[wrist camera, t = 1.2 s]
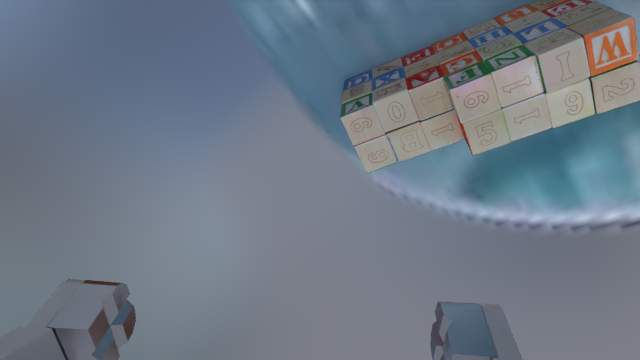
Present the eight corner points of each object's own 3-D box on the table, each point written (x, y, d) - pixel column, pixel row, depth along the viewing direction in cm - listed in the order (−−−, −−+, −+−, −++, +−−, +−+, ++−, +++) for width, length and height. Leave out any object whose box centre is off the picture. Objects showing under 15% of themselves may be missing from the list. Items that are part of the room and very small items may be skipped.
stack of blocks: (366, 130, 47) (364, 192, 37) (343, 79, 45) (335, 131, 34) (576, 52, 41) (646, 101, 31) (565, -13, 38) (638, 16, 28)
